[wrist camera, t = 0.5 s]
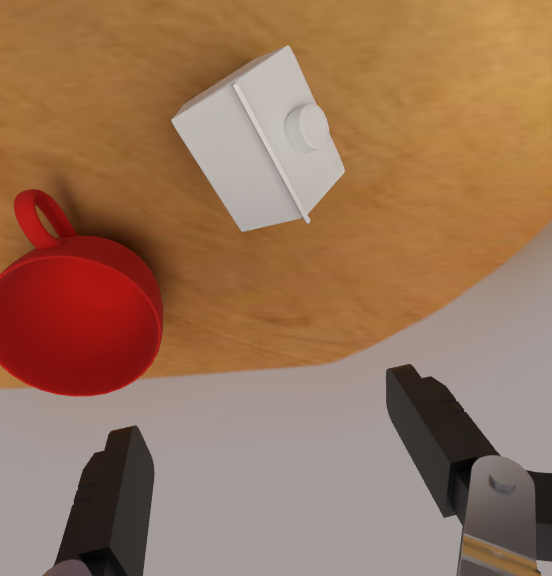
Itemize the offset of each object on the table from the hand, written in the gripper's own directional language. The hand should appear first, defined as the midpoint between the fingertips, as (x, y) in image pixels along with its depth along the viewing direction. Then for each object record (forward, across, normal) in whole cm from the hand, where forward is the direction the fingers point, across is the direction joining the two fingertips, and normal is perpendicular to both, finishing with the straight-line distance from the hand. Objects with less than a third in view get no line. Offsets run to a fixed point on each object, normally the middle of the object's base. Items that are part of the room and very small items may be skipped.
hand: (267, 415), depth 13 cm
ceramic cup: (+28, +14, +4) cm, 32 cm away
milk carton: (+29, -3, -6) cm, 29 cm away
